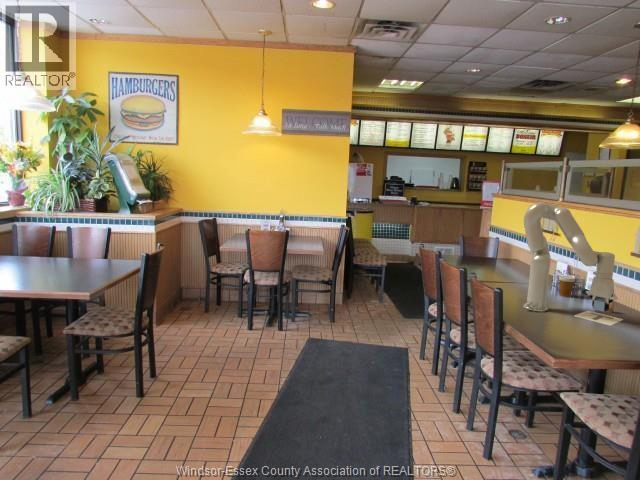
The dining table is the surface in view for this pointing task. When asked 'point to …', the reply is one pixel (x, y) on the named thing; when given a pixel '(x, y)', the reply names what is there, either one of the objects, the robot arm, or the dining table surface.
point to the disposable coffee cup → (566, 285)
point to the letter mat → (598, 317)
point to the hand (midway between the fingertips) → (600, 308)
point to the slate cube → (599, 305)
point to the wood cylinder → (610, 308)
